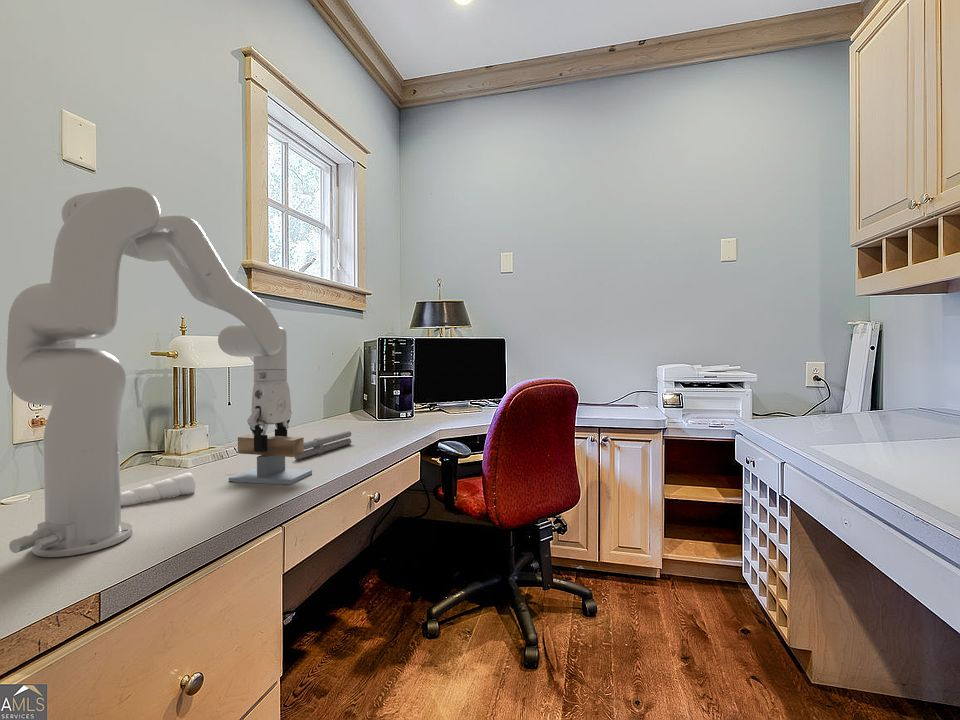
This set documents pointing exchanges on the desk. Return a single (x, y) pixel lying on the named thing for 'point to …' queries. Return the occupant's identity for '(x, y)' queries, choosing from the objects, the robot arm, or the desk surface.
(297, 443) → the walnut bar
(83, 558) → the desk surface
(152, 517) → the desk surface
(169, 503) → the desk surface
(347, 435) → the metal rod assembly
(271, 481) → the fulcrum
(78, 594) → the desk surface
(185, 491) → the unicorn horn
